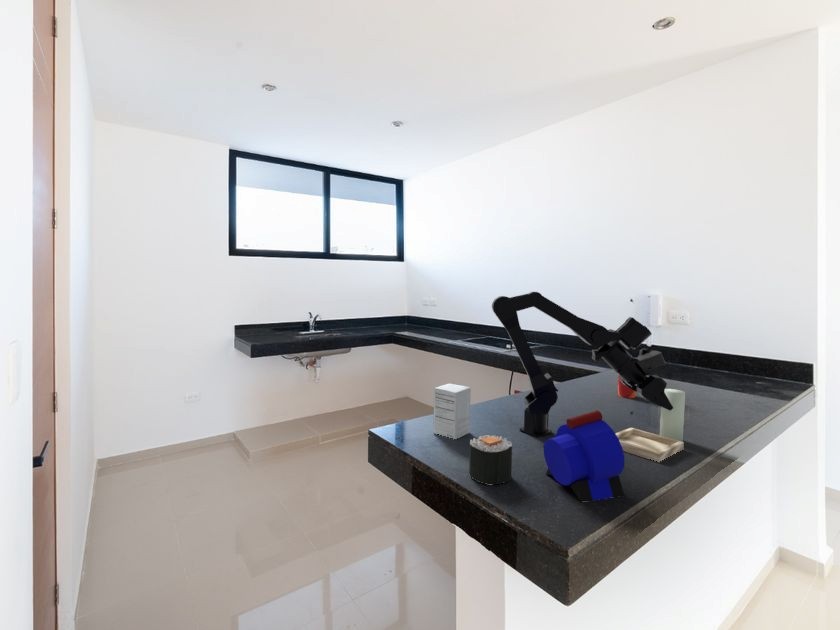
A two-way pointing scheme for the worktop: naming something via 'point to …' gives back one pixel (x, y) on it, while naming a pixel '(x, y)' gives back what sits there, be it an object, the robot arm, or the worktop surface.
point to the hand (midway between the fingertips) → (663, 404)
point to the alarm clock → (586, 457)
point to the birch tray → (648, 444)
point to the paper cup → (625, 390)
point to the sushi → (490, 459)
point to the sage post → (673, 415)
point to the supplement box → (452, 410)
